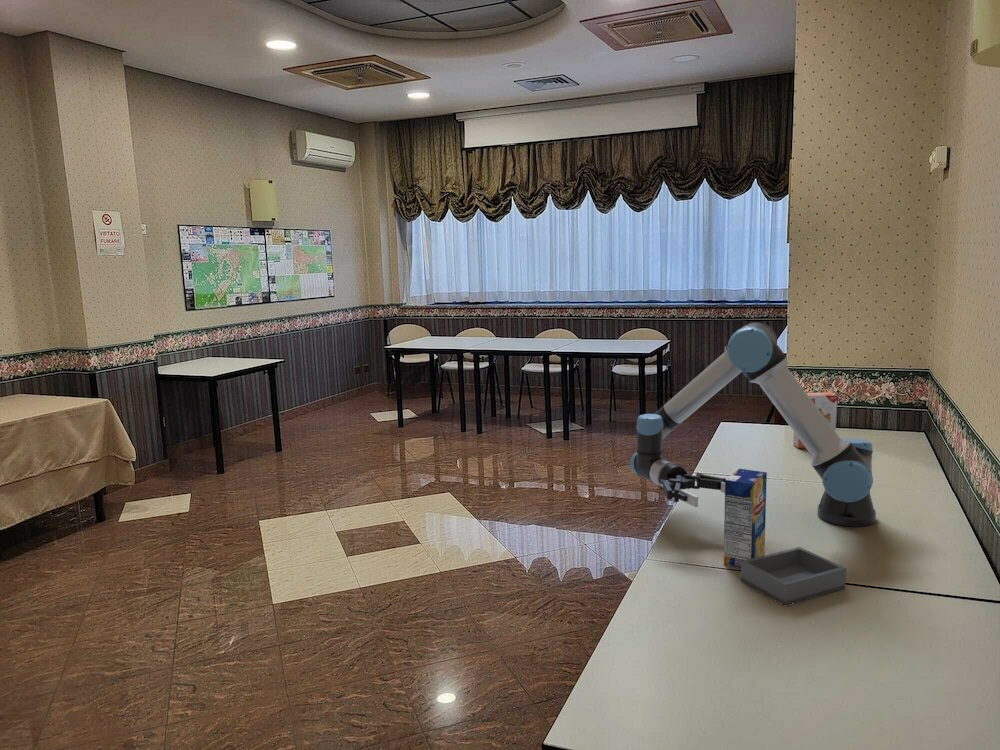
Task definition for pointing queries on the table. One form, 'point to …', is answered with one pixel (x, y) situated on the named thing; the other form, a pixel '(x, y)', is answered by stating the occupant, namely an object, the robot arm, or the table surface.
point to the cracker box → (822, 411)
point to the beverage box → (744, 516)
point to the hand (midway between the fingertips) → (718, 497)
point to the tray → (793, 575)
